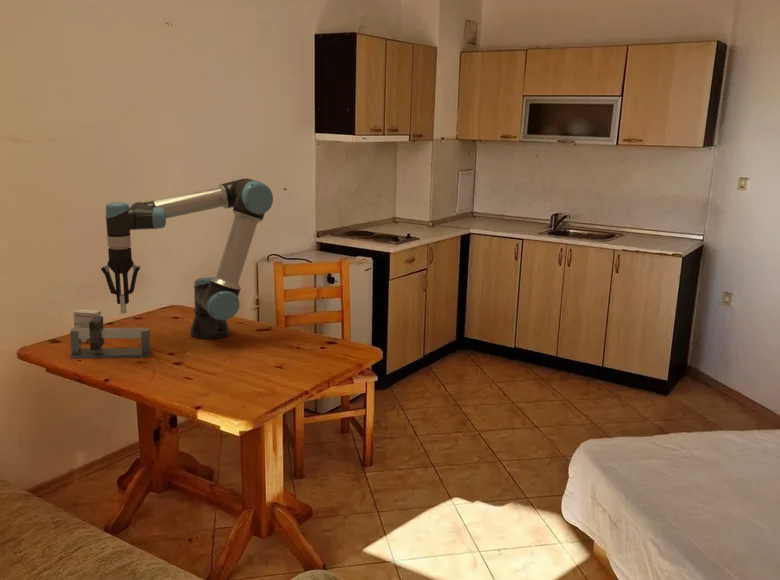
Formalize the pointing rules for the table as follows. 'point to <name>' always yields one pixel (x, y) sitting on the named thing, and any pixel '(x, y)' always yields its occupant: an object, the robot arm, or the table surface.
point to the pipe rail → (80, 352)
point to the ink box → (84, 320)
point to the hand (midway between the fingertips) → (123, 312)
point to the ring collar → (96, 333)
